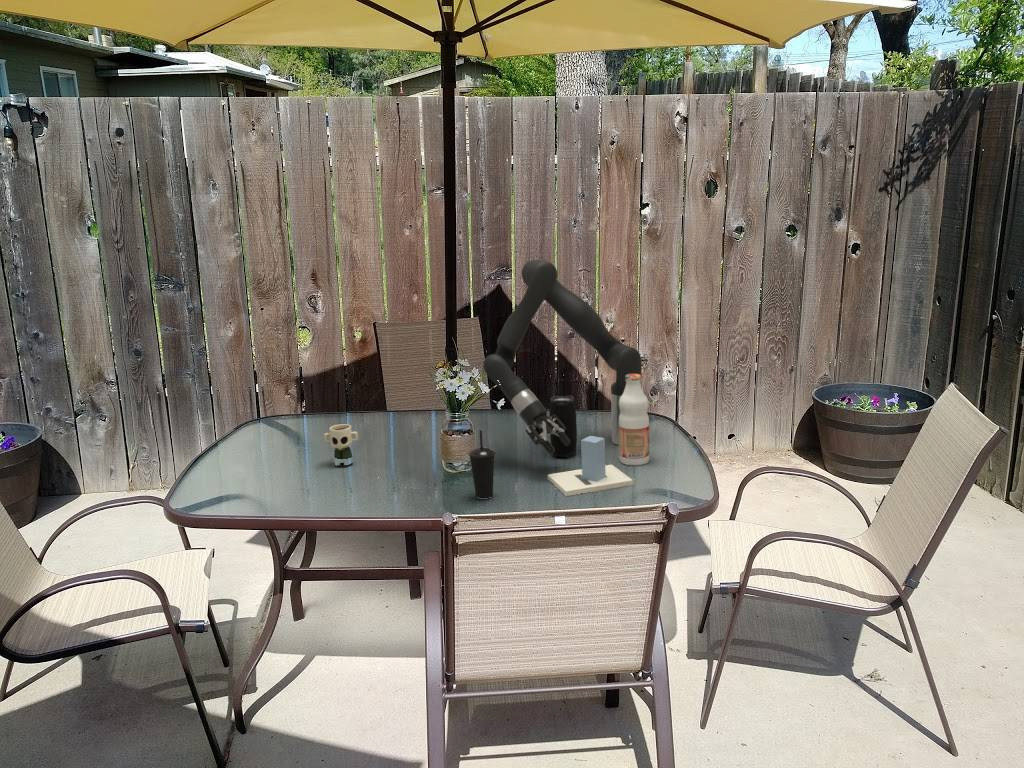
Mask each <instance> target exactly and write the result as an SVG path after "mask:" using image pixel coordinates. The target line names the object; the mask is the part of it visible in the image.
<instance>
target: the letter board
mask: <svg viewBox="0 0 1024 768" xmlns="http://www.w3.org/2000/svg"><path fill="white" fill-rule="evenodd" d="M605 473H606V477H604V478H603V479H601V480H599V481H598V482H594V481H590V480H585V479H582V468H581V469H580V468H579V469H575V470H569V471H562V472H556V473H550V474H547V480H548V481H549V480H550V481H551V482H552V483H553V484H554V485H553V484H552V485H553V486H555V488H557V490H559V491H560V492H561V493H562V495H564V496H565V497H570V496H575V495H576V494H577V495H580V494H581V493H583V494H588V492H589V493H593V492H601V491H606V490H611V489H617V488H623V487H624V488H625V487H629V486H633V485H634V480H633V479H632V478H631V477H629V476H628V475H626V474H625V473H624V472H622V471H621V470H619V469H618V468H617V467H616V466H614V465H613V464H608V465H607V464H605ZM550 481H549V482H550ZM551 482H550V483H551ZM581 495H582V494H581Z"/></svg>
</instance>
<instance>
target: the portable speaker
mask: <svg viewBox="0 0 1024 768" xmlns="http://www.w3.org/2000/svg"><path fill="white" fill-rule="evenodd" d="M549 400H550V402H549V416H548V417H551V416H553V414H555V415H556V416H557V417H558V418H559V419H560V421H561V422H562V423H563V424H564V425H565V427H566V429H565V431H564V433H565V434H566V436H567V437H568V438H569V439H570V441H571V443H570V444H569V445H568V446H565V445H564V444H563V442H562V441H561V440H560V439H559V436H557V435H555V434H551V433H549V438H550V443H551V445H552V446H553V447H554V449H555V451H554V452H553V453H551V455H552V457H553V456H554V457H553V458H555V457H557V458H558V457H565V458H566V459H568V458H569V459H571V458H574V457H576V454H577V442H578V441H577V440H578V437H577V436H578V434H577V431H578V430H577V428H578V427H577V425H578V424H577V410H576V404H575V397H574V395H569V394H568V395H553V396H551V397H550V398H549ZM559 427H560V428H562V427H561V426H560V425H559ZM553 428H554V427H553ZM557 432H559V431H558V430H557Z"/></svg>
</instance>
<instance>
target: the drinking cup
mask: <svg viewBox="0 0 1024 768" xmlns="http://www.w3.org/2000/svg"><path fill="white" fill-rule="evenodd" d="M495 454H496V450H495V449H493V448H490V447H488V446H483V431H482V430H480V429H479V446H478V447H475V448H474V449H473V448H472V449H471V450H468V455H469V460H470V466H471V473H472V478H473V479H472V480H473V485H474V490H475V491H474V492H475V497H476V496H477V497H479V498H489V497H492V496H494V478H495V477H494V474H495ZM492 498H493V497H492Z"/></svg>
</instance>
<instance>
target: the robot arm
mask: <svg viewBox="0 0 1024 768" xmlns="http://www.w3.org/2000/svg"><path fill="white" fill-rule="evenodd" d="M521 278H522V280H523V283H524V284H525V285H526V286H527V288H526V291H525V293H524V295H523V297H522V299H521V301H519V303H518V305H517V306H516V308H514V310H513V311H512V312H511V314H510V315H509V316H508V317H507V320H506V321H505V323H504V324H503V327H502V329H501V331H500V333H499V336H498V338H497V340H496V343H497V348H496V350H495V353H493V354H489V355H487V356H486V357H485V358H484V360H483V370H484V373H485V374H486V375H487V376H488V377H489V379H490V380H491V381H492V382H493V384H495V385H496V387H498V388H499V389H500V390H501V392H502V393H503V395H504V396H505V398H507V400H508V401H509V403H511V405H512V407H513V409H514V410H515V411H516V412H517V414H518V415H519V416H520V418H521V419H522V420H523V422H524V423H525V424H526V426H527V427H526V428H525V432H526V434H527V435H528V436H529V438H530V440H532V442H533V443H534V445H535V446H538V445H540V446H543V449H544V450H545V451H546V452H547V453H548V454H549V455H552V453H553V452H554V451H555V449H554V447H553V446H552V445H551V441H549V440H548V438H547V435H548V434H549V435H550V433H551V434H555V435H557V436H559V439H560V440H561V441H562V442H563V444H564V445H565V446H568V445H569V444H570V443H571V441H570V439H569V438H568V437H567V436H566V434H565V433H564V431H565V429H566V427H565V425H564V424H563V423H562V422H561V421H560V419H559V418H558V417H557V416H556V415H555V414H553V416H551V417H549V416H548V414H547V412H548V411H547V409H546V407H544V405H543V404H542V402H541V401H540V400H539V399H538V398H537V396H536V395H535V394H534V392H533V391H531V390H530V389H529V387H528V386H527V385H526V383H525V382H524V381H523V380H522V378H520V377H519V376H518V375H516V374H515V372H514V371H513V370H512V368H513V365H514V363H515V358H516V355H517V351H518V349H519V347H520V345H521V343H522V340H523V339H524V337H525V334H526V332H527V331H528V328H529V327H530V324H531V323H532V321H533V318H534V317H535V316H536V314H537V312H538V311H539V308H540V307H541V306H542V304H543V302H544V301H546V302H547V304H549V305H550V307H551V308H552V309H553V310H554V311H555V312H556V314H558V315H559V317H560V318H561V319H562V320H563V321H564V322H565V323H566V324H567V325H568V326H569V327H570V328H571V329H572V330H573V331H574V332H575V333H576V334H577V335H578V336H579V337H581V338H582V339H583V340H584V341H585V342H586V343H587V344H588V345H590V346H591V347H592V348H593V349H595V351H596V353H598V355H600V356H601V358H602V359H603V360H604V362H605V364H607V365H608V367H609V368H611V370H613V371H615V373H616V375H615V382H613V383H612V384H611V386H610V398H611V399H610V401H611V402H610V403H611V404H610V405H611V406H610V407H611V442H612V443H613V444H615V445H618V446H619V416H620V413H621V411H620V407H619V400H620V397H621V396H622V394H623V392H624V390H625V386H626V380H625V376H626V375H628V374H639V375H641V376H642V368H643V367H642V364H643V363H642V357H641V353H640V352H639V350H638V349H636V348H634V347H633V346H632V347H631V346H629V345H626V344H624V343H623V342H621V341H620V340H618V339H617V338H616V337H614V336H613V335H612V334H611V333H610V332H609V330H608V329H607V327H606V325H605V323H604V321H603V319H602V318H601V316H600V315H599V313H597V311H596V310H595V309H594V308H593V307H591V305H590V304H589V303H588V302H587V301H585V300H584V299H583V298H581V297H580V296H579V295H578V294H575V293H574V292H573V291H571V290H569V289H568V288H566V287H565V286H564V285H563V284H562V283H561V282H560V281H559V280H558V270H557V267H556V266H555V265H554V264H553V263H552V262H550V261H546V260H540V259H532V260H529V261H526V262H525V264H524V265H523V266H522V269H521ZM497 380H499V382H500V383H499V382H498V381H497ZM641 383H642V380H641V381H640V384H641ZM499 384H501V385H499ZM559 425H560V426H561V427H562V428H560V427H559ZM553 427H554V428H553ZM557 430H558V431H559V432H557Z"/></svg>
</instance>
